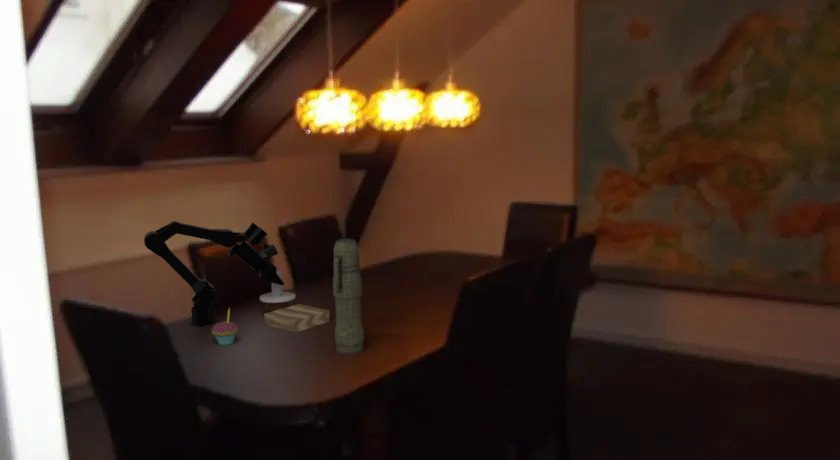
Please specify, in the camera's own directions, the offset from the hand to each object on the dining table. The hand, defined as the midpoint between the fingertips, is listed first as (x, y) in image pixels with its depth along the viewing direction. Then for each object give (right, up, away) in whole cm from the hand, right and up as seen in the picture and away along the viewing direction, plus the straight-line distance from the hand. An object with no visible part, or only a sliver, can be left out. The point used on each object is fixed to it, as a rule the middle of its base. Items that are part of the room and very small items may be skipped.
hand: (280, 281), depth 274 cm
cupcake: (-12, -18, -32) cm, 38 cm away
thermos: (+29, -19, -41) cm, 54 cm away
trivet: (+8, -14, -11) cm, 19 cm away
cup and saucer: (-1, -12, +2) cm, 13 cm away
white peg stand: (-1, -6, +1) cm, 6 cm away
